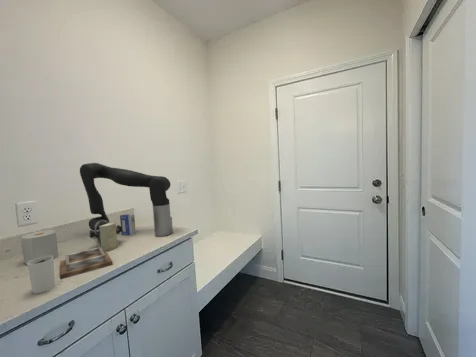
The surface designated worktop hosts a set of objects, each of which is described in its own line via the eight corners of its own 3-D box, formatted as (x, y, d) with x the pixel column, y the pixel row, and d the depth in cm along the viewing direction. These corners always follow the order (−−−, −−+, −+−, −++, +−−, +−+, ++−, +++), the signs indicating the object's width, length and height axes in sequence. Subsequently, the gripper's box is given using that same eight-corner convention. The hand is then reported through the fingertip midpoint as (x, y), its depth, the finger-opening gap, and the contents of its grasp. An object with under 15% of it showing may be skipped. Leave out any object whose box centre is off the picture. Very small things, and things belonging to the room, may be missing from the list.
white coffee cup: (29, 289, 78) (26, 260, 77) (54, 281, 83) (51, 254, 82) (32, 296, 73) (28, 266, 72) (58, 287, 78) (55, 258, 77)
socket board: (105, 253, 108) (105, 244, 108) (112, 264, 95) (111, 255, 94) (60, 264, 98) (59, 255, 97) (60, 279, 84) (59, 268, 84)
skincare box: (108, 251, 110) (106, 226, 109) (100, 251, 111) (98, 226, 110) (118, 246, 116) (116, 222, 116) (110, 246, 117) (108, 222, 117)
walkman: (121, 235, 136) (119, 215, 136) (125, 233, 139) (123, 213, 138) (132, 235, 134) (130, 215, 133) (136, 233, 137) (134, 214, 136)
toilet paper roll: (44, 253, 112) (42, 230, 111) (65, 254, 110) (62, 230, 109) (16, 264, 100) (13, 238, 100) (38, 265, 98) (35, 238, 97)
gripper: (87, 223, 122) (90, 229, 109) (117, 218, 130) (123, 223, 118) (88, 237, 122) (92, 245, 109) (118, 231, 131) (124, 238, 118)
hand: (108, 234), depth 114 cm, fingers open, 8 cm apart
